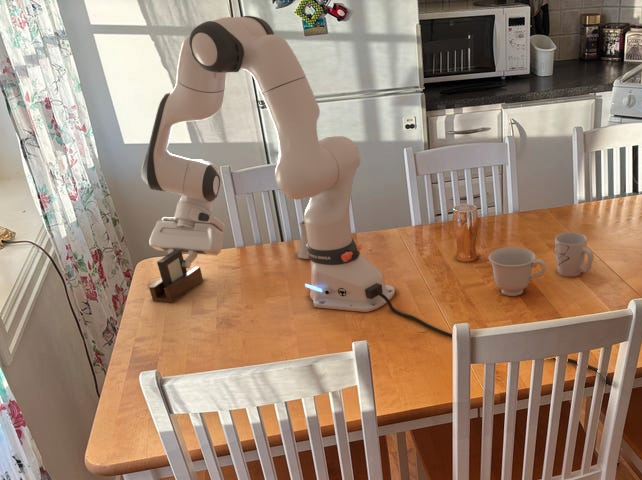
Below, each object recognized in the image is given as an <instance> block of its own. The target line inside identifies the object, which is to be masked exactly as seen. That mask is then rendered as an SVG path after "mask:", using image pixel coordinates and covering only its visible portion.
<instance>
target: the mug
mask: <svg viewBox="0 0 642 480" xmlns="http://www.w3.org/2000/svg"><path fill="white" fill-rule="evenodd" d="M587 244H588V237H587V236H586V235H585V234H582V233H579V232H574V231H573V232H572V231H568V232H566V231H565V232H561V233H559V234H557V235H555V238H554V247H555V251H554V252H555V260H556V267H557V271H558V274H559V275H560V276H563V277H565V278H573V277H578V276H579V275H581V273H584V274H587V273H589V272H590V271H591V269H592V265H593V262H594V252H593V251H592V250H591V249H590V248H587ZM586 255H587V262H586V266H585V267H584V262H585V258H586Z"/></svg>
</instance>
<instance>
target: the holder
mask: <svg viewBox="0 0 642 480" xmlns="http://www.w3.org/2000/svg"><path fill="white" fill-rule="evenodd" d="M187 269H188V268H186V271H187V273H186V274H184V275H183V276H181V277H180V278H178V279H177V280H176V281H174V282H173V283H171V284H170V285H168V286H167V287H166V288H164V285H163V282H162V278H160V279H158V280H157V281H156V282H154V283H153V284H151V285H150V286H149V293H150V296H151V299H152V301H153V302H159V303H160V302H161V303H170V304H173V303H175V302H176V301H177V300H179V299H180V298H182V297H183V296H184V295H185V294H187V293H188V292H190V291H191V290H192V289H193V288H195V287H197V286H198V285H199V284H200V283H202V282H203V281H204V277H203V273H202V270H201V267H200V266H194V267H192V268H190V270H187Z"/></svg>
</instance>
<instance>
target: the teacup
mask: <svg viewBox="0 0 642 480" xmlns="http://www.w3.org/2000/svg"><path fill="white" fill-rule="evenodd" d="M488 260H489V261H490V262H491V266H492V274H493V279H494V282H495V285H496V287H498V288H499V289H501V294H503V295H505V296H506V297H507V296H508V297H516V296H520V295H522V294H523V293H524V289H525V288H527V287H528V285H529V284H530V282H531V281H532V280H533V279H535V278H539V277H541V276H543V275H544V274H545V273H546V270H547V264H546V262H545V261H544V260H543V259H541V258H540V259H539V258H538V259H537V255H536V254H535V252H534V251H532V250H530V249H529V248H525V247H521V246H520V247H519V246H506V247H501V248H496V249H495V250H493V251H492V252H490V253H489V254H488ZM537 265H540V266H541V267H542V269H541V271H539V272H536V273H534V274H532V269H536V268H537Z"/></svg>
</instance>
